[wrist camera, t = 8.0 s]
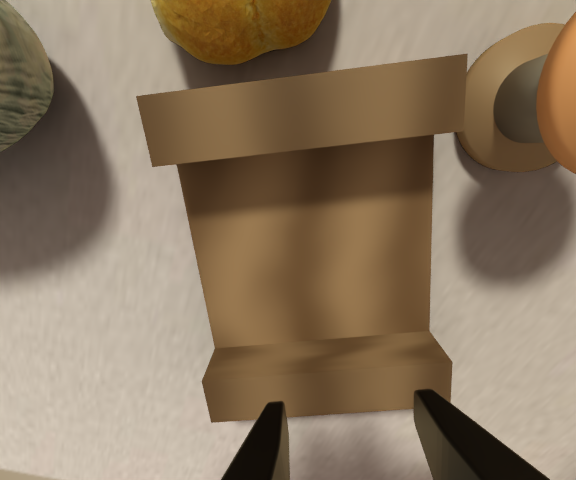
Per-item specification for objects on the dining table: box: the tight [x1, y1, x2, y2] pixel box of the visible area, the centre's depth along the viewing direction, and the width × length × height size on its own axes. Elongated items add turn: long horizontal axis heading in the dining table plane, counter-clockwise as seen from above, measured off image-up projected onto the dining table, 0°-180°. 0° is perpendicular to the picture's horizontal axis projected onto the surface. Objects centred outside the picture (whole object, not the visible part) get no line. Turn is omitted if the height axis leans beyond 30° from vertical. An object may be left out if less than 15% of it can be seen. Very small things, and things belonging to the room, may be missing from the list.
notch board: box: [136, 54, 467, 423], centre depth 17 cm, size 14×18×4 cm
